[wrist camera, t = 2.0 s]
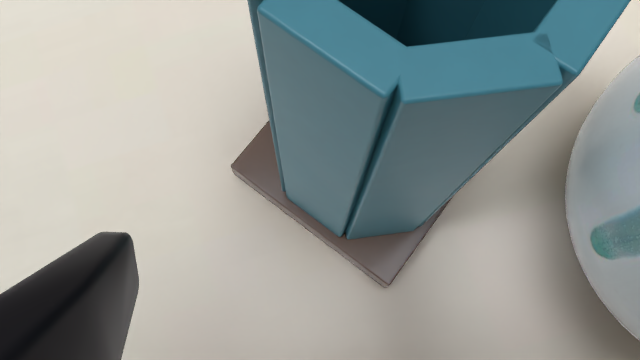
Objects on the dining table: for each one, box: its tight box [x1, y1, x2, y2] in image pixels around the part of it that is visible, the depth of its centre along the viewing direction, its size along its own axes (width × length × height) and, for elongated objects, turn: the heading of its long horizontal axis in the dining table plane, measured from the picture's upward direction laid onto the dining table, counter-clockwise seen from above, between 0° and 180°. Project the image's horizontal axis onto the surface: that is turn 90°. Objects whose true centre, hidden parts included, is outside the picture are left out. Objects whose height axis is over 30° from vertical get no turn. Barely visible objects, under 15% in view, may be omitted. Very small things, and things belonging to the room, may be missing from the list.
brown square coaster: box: [231, 121, 454, 287], centre depth 19 cm, size 7×7×6 cm
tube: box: [248, 0, 631, 239], centre depth 15 cm, size 6×6×12 cm
